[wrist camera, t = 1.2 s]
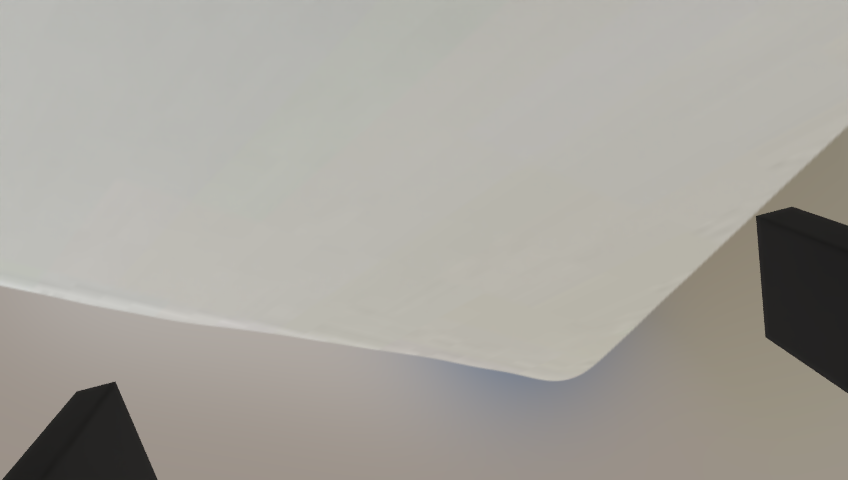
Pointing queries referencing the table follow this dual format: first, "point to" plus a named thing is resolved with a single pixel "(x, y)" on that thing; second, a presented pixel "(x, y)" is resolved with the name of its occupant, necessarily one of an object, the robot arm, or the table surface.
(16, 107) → the table surface
